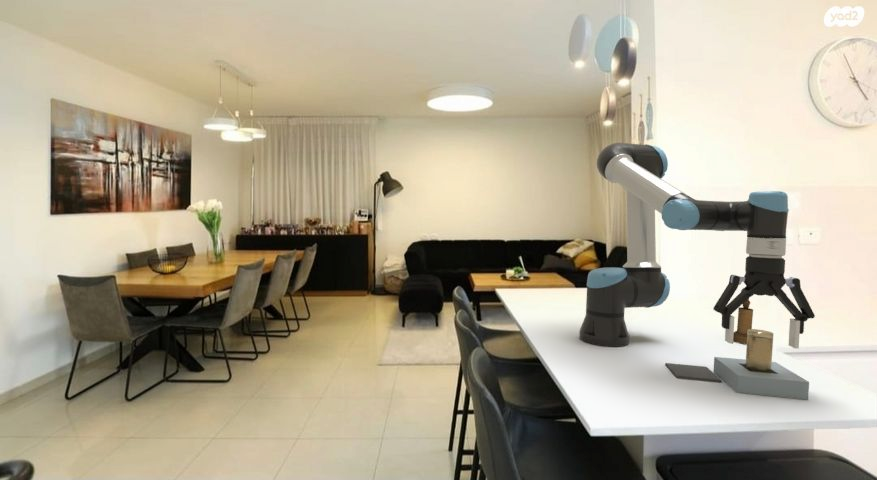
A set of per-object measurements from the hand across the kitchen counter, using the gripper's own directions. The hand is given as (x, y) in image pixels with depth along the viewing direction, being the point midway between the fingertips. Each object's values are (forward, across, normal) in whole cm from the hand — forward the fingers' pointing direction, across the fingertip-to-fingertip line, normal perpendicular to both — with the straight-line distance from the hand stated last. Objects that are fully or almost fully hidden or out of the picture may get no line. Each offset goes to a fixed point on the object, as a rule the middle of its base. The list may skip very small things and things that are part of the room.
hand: (760, 344), depth 104 cm
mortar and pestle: (+10, +14, +44) cm, 47 cm away
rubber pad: (+10, -13, +4) cm, 17 cm away
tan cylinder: (+10, 0, 0) cm, 10 cm away
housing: (+10, 0, 0) cm, 10 cm away
